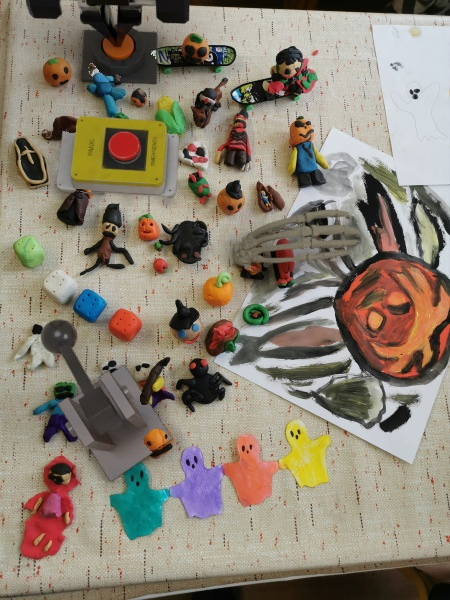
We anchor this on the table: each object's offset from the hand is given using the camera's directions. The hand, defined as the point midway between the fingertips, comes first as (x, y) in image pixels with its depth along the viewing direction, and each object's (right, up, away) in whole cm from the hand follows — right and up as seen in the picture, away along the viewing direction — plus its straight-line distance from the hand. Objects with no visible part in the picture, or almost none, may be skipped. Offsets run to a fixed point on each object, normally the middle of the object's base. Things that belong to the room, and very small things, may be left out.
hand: (117, 44), depth 74 cm
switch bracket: (+2, -48, -11) cm, 49 cm away
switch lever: (+1, -42, -20) cm, 46 cm away
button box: (0, -1, +3) cm, 3 cm away
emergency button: (+1, -16, -2) cm, 16 cm away
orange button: (0, 0, +2) cm, 2 cm away
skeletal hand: (+23, -27, -3) cm, 36 cm away
